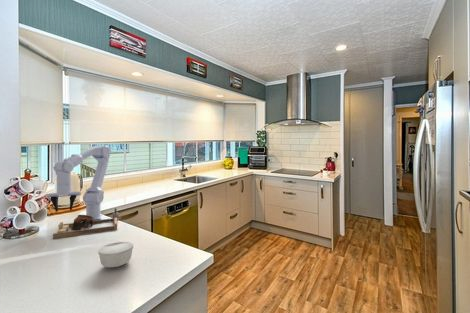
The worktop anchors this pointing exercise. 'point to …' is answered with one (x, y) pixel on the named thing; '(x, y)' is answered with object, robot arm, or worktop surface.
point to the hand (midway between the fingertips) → (64, 210)
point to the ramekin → (115, 254)
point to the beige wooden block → (63, 228)
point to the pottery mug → (84, 224)
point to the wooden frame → (93, 230)
